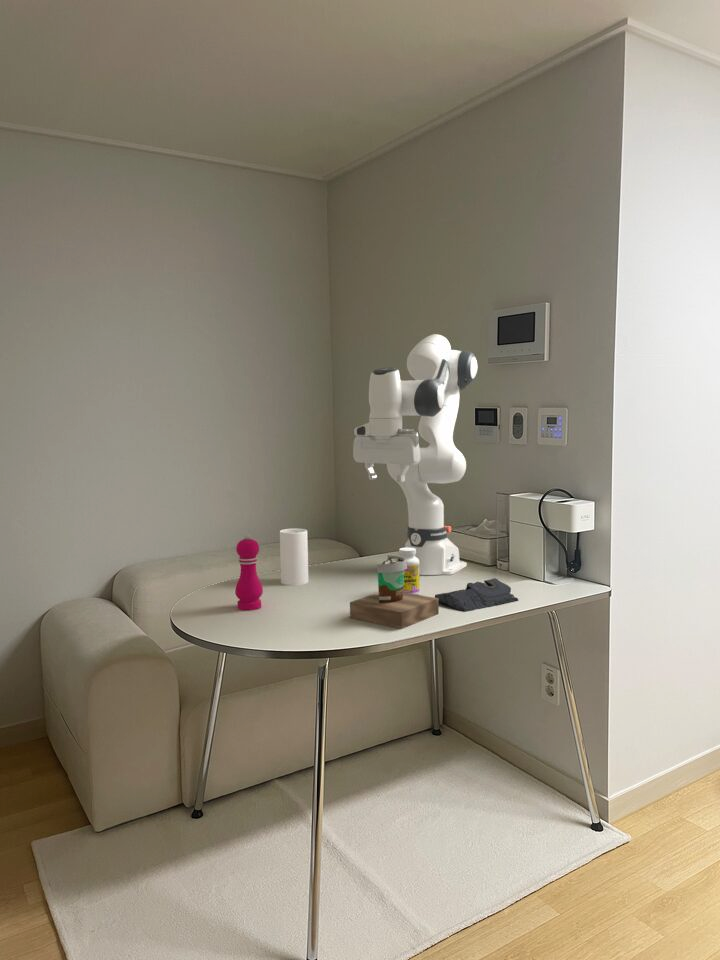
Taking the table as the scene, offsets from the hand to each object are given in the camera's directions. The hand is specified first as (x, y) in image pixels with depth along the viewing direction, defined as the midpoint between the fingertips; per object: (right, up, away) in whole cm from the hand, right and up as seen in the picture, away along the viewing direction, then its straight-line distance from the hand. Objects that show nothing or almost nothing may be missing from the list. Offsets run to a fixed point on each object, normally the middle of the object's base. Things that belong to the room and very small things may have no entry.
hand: (386, 480), depth 208 cm
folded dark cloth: (+24, -33, +1) cm, 41 cm away
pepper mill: (-37, -34, -3) cm, 50 cm away
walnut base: (+2, -34, -13) cm, 36 cm away
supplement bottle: (+6, -32, +9) cm, 34 cm away
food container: (+2, -30, -12) cm, 32 cm away
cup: (-27, -31, +24) cm, 47 cm away
